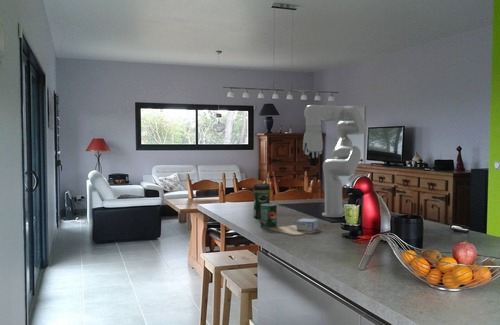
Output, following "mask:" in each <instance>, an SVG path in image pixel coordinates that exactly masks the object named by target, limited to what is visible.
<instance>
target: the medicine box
mask: <svg viewBox="0 0 500 325" xmlns="http://www.w3.org/2000/svg"><path fill="white" fill-rule="evenodd" d="M296 225H297V230H303V231H314V230H319V219H318V218H317V219H316V218H304V217H303V218H300V219H297V220H296Z"/></svg>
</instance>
